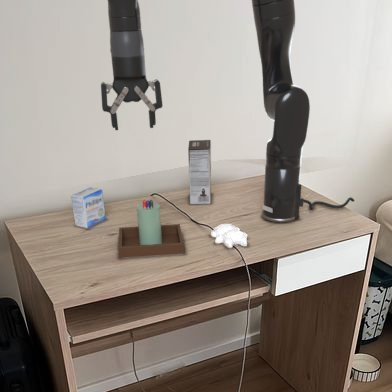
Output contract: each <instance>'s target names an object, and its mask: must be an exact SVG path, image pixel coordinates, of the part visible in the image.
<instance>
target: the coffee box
mask: <svg viewBox="0 0 392 392" xmlns="http://www.w3.org/2000/svg"><path fill="white" fill-rule="evenodd" d="M187 151H188V152H187V153H188V182H189V183H188V184H189V185H188V186H189V204H190V205H211V203H212V141H211V139H198V140H197V139H196V140H194V139H193V140H189V141H188V148H187Z"/></svg>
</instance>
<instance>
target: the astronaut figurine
mask: <svg viewBox="0 0 392 392" xmlns="http://www.w3.org/2000/svg"><path fill="white" fill-rule="evenodd" d="M210 236H211V238H215V240H214V243H215V244H221V243H222V244H224V246H225V247H227V248H229V249H232V248H233V246H235V245H240V246H241V247H247V246H248V239H247V238H248V233H246V232H244V231H241V229H240V228H239V227H237V226H236V225H234V224H231V223H221V224H219V225H216V226H215V227H214V228H213V230H211V232H210Z"/></svg>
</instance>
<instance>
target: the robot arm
mask: <svg viewBox="0 0 392 392" xmlns="http://www.w3.org/2000/svg"><path fill="white" fill-rule="evenodd" d="M251 8H252V13H253V21H254V27H255V32H256V38H257V39H256V40H257V45H258V46H257V47H258V52H259V59H260V63H261V65H260V66H261V74H262V75H261V76H262V99H263V109H264V112H265V114H266V115H267V117H268V118H269V119H270V120H271V121H273V131H272V136H271V138H270V139H269V140H267V142H266V146H265V163H264V164H265V167H264V170H265V171H264V185H263V190H264V191H263V204H262V205H261V206H262V207H261V209H262V218H263V219H264V220H266V221H268V222H271V223H290V222H294V221H295V220H296V221H297V220H299V218H300V208H302V207H304V203H305V204H307V205H308V206H309V210H310V211H313V210H314V206H315V205H322V206H325V207H327V208H332V209H342V208H345V207H346V206H347V205H348V204H349V203H350V202H355V199H354V197H352V196H350V197H348V198H347V199H346V200H345V202H343V203H342V204H331V203H328V202H325V201H321V200H316V201H313V202H311V201H310V200H308V199H305V198H304V197H303V196H302V195H301V194H302V184H301V182H300V180H301V168H302V157H303V148H304V146H305V144H306V141H307V137H308V131H309V130H308V129H309V123H310V114H311V113H310V112H311V100H310V97H309V94H308V92H307V90H306V91H305V89H303V88H302V87H300V86H298V85H295V83H294V80H293V73H292V68H291V50H292V44H293V43H292V42H293V39H294V33H295V30H296V29H295V27H296V6H295V0H251ZM107 15H108V24H109V26H108V27H109V46H110V47H109V48H110V49H109V52H110V57H111V67H112V76H113V81H112V83H110V82H109V83H107V82H104V81H102V82H101V83H100V93H101V94H100V95H101V108H102V111H103V112H106V113H109V114H110V121H111V122H110V123H111V127H112V129H114V130H115V131H119V123H118V114H117V111H118V109H119V107H120V106H121V105H122V103H123V102H124V103H132V102H133V103H139V102H140V101H142V102H143V103H144V104H145V105H146V107H147V108H148V120H149V121H148V122H149V128H150V129H153V128H154V126H156V123H157V122H156V121H157V119H156V111H157V110H159V109H162V108H163V97H162V89H161V82H160V81H159V80H158V79H154V80H148V79H147V71H146V70H147V69H146V59H145V58H146V56H145V43H144V37H143V31H142V17H141V8H140V2H139V0H107ZM149 87H150V88H151V90H152V91H153V92H154V94H155V95H154V96H155V102H154V103H153V102H152V101H151V100H150V99H149V97H148V96H147V95H146V93H147V91H148V89H149ZM111 89H112V90H113V91H114V92H115V94H116V96H115V98H114V100H113V102H112V104H111V106H110V105H108V94H110V93H111Z"/></svg>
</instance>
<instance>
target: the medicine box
mask: <svg viewBox="0 0 392 392" xmlns="http://www.w3.org/2000/svg"><path fill="white" fill-rule="evenodd" d="M70 200H71V206H72V211H73V218H74V222H75V223H74V224H75V226H76V227H81V228H85V229H89V228H91V227H93V226H95V225H96V224H99V223H100V222H102V221H105V220H106V210H105V202H104V194H103V189H102V188H98V187H94V186H93V187H88V188H85V189H83V190H81V191H78V192H76V193H74V194H72V195H70Z"/></svg>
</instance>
